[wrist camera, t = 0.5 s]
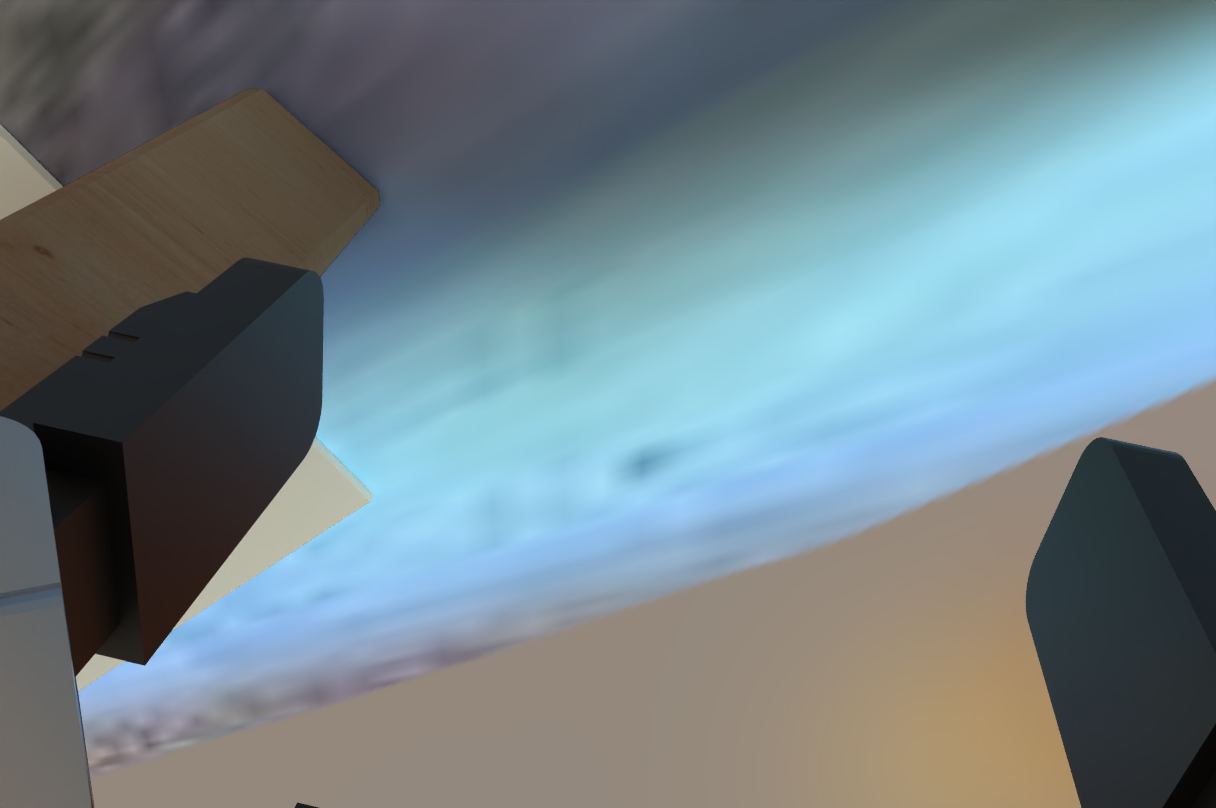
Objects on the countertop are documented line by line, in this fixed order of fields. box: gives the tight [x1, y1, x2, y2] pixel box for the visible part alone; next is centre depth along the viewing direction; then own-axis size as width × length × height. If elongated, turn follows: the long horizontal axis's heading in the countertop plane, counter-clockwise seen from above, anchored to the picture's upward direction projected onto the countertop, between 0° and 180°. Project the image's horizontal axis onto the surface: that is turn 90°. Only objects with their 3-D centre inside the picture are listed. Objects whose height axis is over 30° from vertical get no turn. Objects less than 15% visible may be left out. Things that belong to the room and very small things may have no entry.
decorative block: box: [0, 89, 380, 411], centre depth 29 cm, size 11×6×20 cm, turn 137°
